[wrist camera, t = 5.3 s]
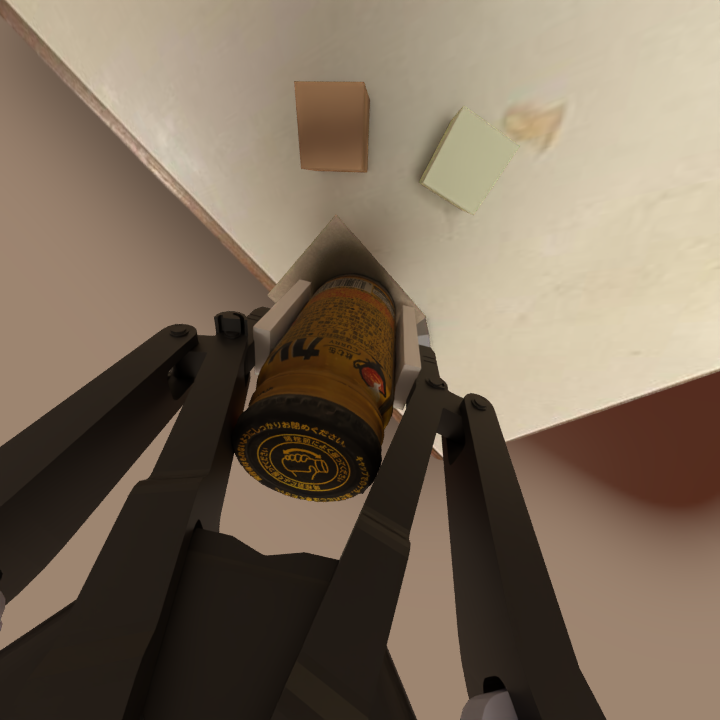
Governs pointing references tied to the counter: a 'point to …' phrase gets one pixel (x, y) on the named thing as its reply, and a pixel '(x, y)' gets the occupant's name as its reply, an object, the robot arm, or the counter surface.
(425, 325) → the slate cube
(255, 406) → the condiment
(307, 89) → the walnut cube
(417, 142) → the counter surface
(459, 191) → the sage cube
